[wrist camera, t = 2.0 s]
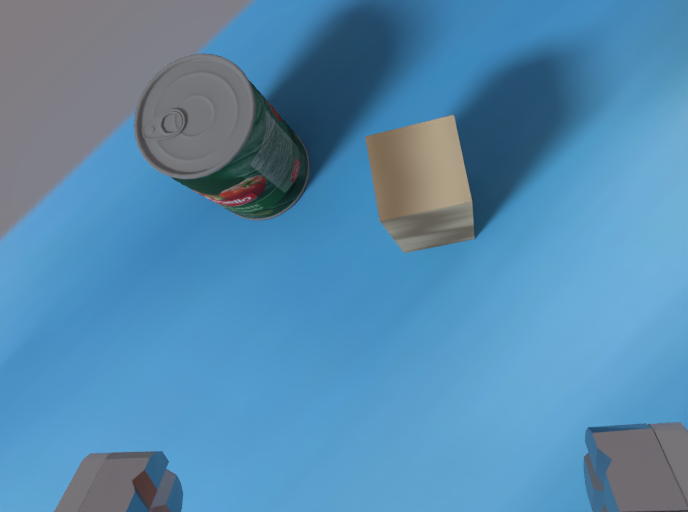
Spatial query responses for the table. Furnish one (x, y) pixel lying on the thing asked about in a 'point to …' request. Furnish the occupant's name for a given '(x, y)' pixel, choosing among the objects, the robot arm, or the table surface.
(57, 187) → the table surface
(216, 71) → the canned tomato
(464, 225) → the oak block
